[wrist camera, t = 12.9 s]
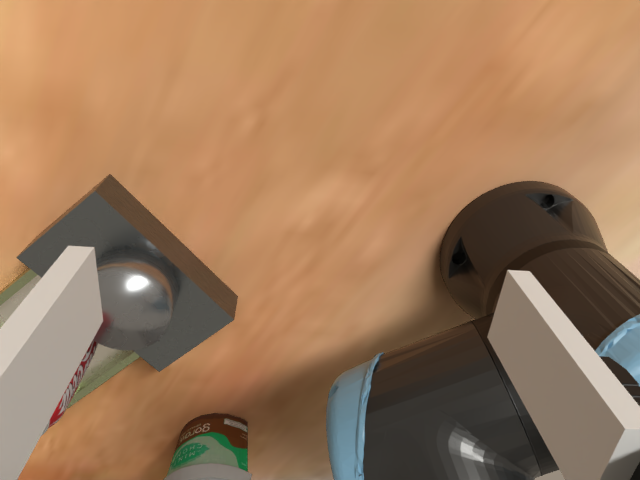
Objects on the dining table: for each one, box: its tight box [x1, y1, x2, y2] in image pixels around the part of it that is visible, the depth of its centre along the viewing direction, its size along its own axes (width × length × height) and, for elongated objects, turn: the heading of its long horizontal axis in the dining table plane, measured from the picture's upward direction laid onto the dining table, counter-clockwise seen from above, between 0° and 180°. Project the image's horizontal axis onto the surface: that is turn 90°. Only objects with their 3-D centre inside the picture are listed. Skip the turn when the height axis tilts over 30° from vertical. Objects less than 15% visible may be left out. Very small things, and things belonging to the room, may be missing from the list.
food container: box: [163, 413, 252, 480], centre depth 56 cm, size 12×6×10 cm, turn 133°
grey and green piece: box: [0, 174, 238, 408], centre depth 48 cm, size 17×23×8 cm
